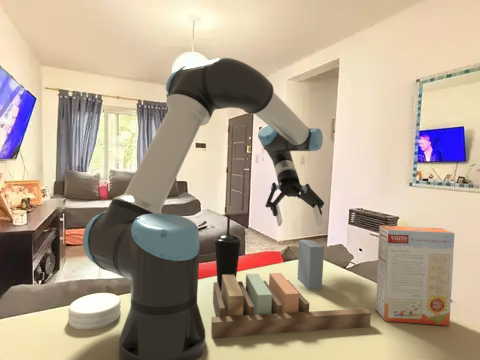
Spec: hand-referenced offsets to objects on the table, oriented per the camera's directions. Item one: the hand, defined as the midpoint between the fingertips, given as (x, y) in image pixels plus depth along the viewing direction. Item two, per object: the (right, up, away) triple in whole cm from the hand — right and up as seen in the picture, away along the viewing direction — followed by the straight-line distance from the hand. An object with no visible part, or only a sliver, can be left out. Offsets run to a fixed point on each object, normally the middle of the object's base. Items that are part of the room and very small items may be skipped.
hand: (300, 223), depth 93 cm
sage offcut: (-16, -16, -26) cm, 35 cm away
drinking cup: (-23, -16, -12) cm, 31 cm away
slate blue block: (+1, -16, -8) cm, 18 cm away
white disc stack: (-50, -16, -31) cm, 61 cm away
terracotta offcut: (-10, -17, -25) cm, 32 cm away
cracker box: (+20, -18, -26) cm, 37 cm away
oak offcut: (-22, -16, -27) cm, 38 cm away
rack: (-10, -17, -26) cm, 32 cm away
